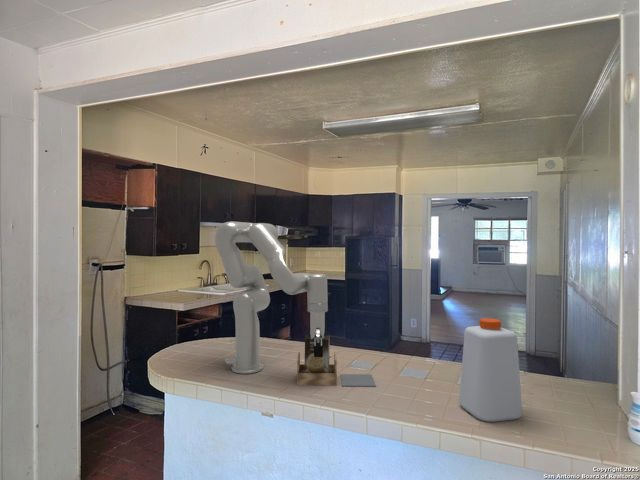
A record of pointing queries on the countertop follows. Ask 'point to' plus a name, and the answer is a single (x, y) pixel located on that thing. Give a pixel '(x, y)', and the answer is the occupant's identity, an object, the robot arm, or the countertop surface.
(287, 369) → the countertop surface
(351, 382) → the mat
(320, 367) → the coffee box
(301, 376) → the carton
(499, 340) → the plastic bottle
